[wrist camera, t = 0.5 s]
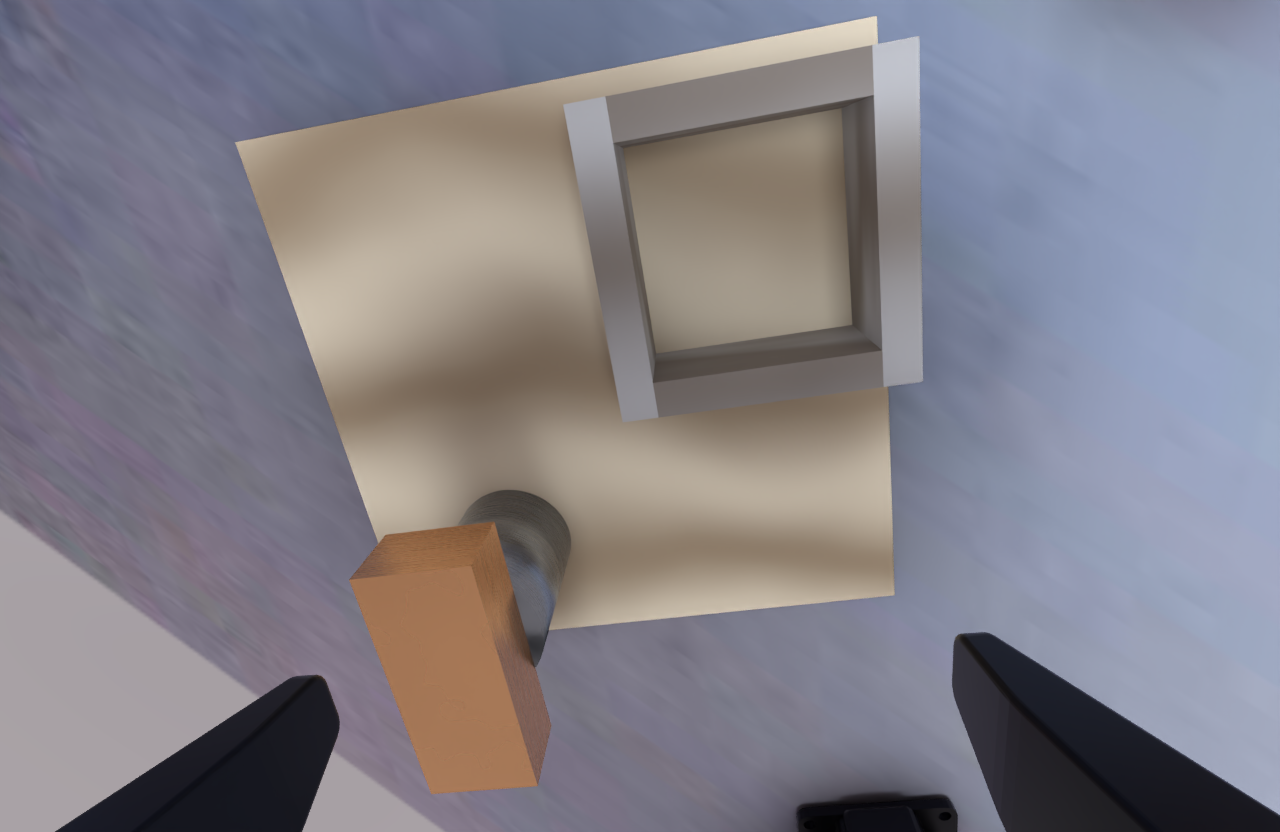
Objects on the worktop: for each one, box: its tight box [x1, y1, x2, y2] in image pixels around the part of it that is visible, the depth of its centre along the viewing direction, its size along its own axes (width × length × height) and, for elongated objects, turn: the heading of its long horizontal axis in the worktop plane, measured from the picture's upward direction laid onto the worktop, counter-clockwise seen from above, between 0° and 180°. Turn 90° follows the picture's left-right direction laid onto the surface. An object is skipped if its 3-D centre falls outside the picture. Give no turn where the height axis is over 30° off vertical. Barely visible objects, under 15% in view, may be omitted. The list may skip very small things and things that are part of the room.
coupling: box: [349, 490, 571, 794], centre depth 19 cm, size 7×4×7 cm, turn 9°
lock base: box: [235, 16, 923, 630], centre depth 19 cm, size 18×18×4 cm
